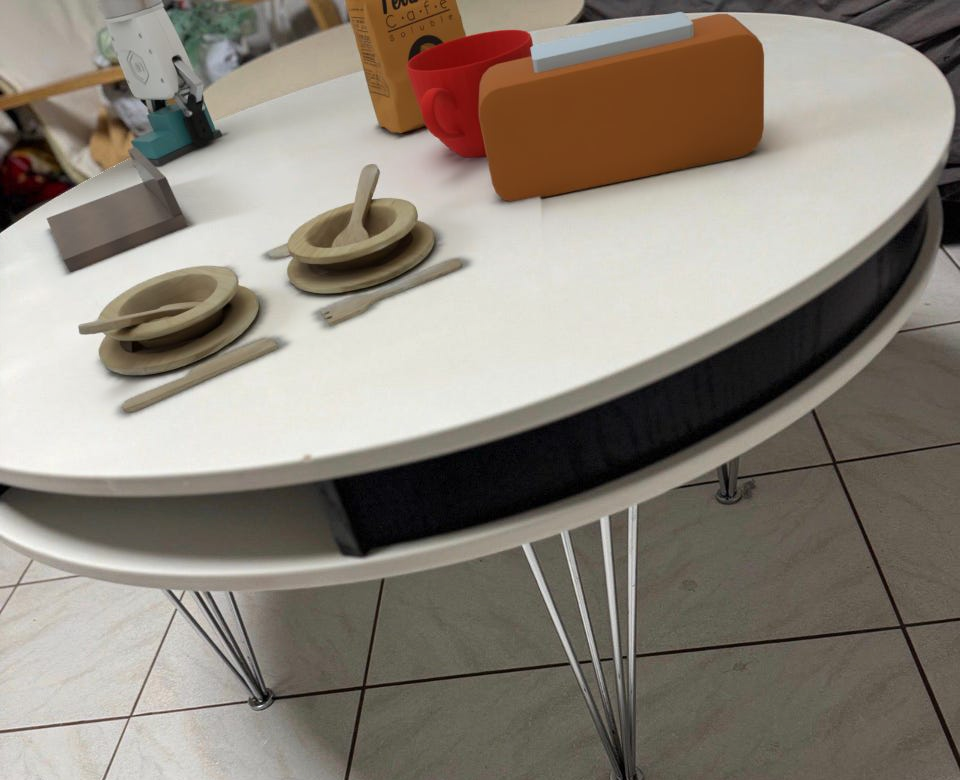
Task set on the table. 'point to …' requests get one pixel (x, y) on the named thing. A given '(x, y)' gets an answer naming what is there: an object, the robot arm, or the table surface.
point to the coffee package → (399, 50)
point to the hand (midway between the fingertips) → (189, 141)
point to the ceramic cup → (461, 84)
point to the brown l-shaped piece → (118, 219)
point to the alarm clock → (622, 105)
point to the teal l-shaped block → (168, 135)
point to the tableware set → (231, 308)
